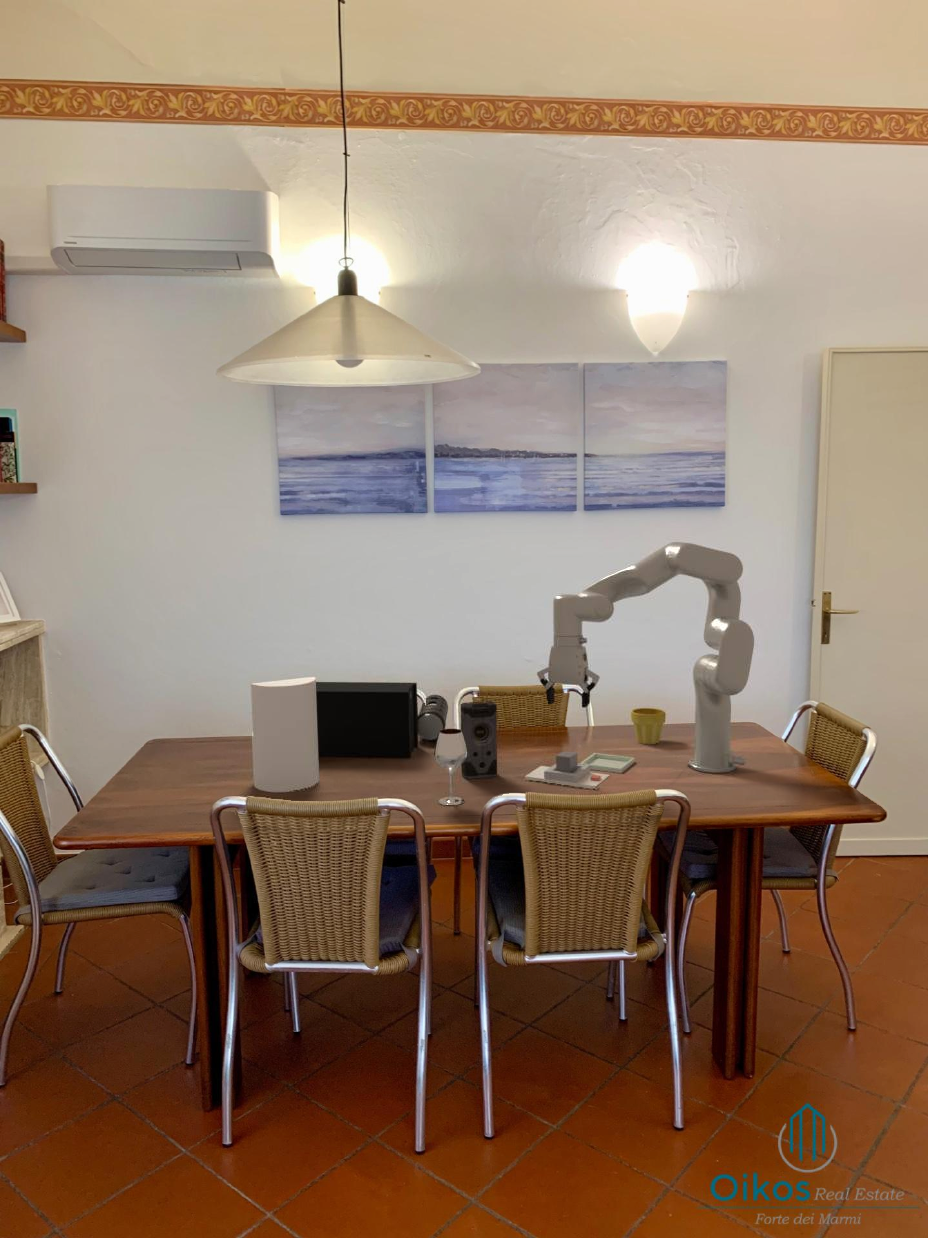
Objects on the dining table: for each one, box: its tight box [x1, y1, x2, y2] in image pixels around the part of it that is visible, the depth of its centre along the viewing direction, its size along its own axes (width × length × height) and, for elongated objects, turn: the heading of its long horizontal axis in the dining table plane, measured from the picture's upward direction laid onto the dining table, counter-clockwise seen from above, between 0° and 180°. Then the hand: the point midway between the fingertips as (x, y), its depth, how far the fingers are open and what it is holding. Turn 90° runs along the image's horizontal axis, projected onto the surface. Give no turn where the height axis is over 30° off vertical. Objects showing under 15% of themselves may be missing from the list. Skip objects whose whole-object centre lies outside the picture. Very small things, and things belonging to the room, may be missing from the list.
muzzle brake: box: [418, 694, 449, 741], centre depth 296 cm, size 10×28×10 cm, turn 178°
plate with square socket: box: [524, 763, 611, 789], centre depth 244 cm, size 20×11×3 cm, turn 62°
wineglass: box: [433, 728, 467, 806], centre depth 226 cm, size 8×8×18 cm
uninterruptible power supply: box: [316, 681, 419, 760], centre depth 274 cm, size 16×34×20 cm, turn 84°
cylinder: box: [250, 676, 320, 793], centre depth 244 cm, size 17×17×28 cm
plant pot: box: [630, 707, 666, 745], centre depth 281 cm, size 10×10×10 cm
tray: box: [578, 752, 636, 774], centre depth 255 cm, size 12×12×2 cm
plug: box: [555, 750, 578, 773], centre depth 244 cm, size 4×5×6 cm
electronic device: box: [460, 700, 498, 780], centre depth 248 cm, size 9×6×20 cm, turn 105°
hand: (568, 705), depth 242 cm, fingers open, 9 cm apart
